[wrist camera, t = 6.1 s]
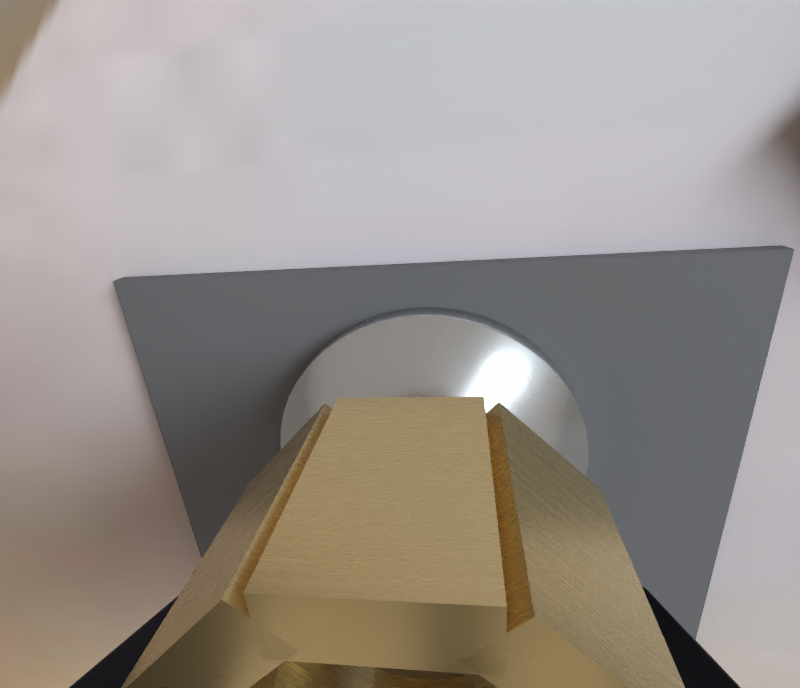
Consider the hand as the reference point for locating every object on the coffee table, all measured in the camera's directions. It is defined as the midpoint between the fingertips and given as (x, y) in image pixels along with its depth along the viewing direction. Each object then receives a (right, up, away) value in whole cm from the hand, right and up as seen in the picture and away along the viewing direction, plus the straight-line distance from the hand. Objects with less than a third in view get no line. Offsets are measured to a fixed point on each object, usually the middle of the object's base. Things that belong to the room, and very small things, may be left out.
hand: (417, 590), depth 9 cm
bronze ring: (0, 0, +1) cm, 1 cm away
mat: (+1, -4, +7) cm, 8 cm away
